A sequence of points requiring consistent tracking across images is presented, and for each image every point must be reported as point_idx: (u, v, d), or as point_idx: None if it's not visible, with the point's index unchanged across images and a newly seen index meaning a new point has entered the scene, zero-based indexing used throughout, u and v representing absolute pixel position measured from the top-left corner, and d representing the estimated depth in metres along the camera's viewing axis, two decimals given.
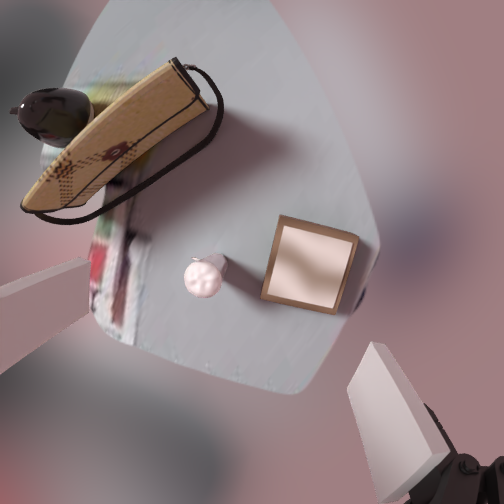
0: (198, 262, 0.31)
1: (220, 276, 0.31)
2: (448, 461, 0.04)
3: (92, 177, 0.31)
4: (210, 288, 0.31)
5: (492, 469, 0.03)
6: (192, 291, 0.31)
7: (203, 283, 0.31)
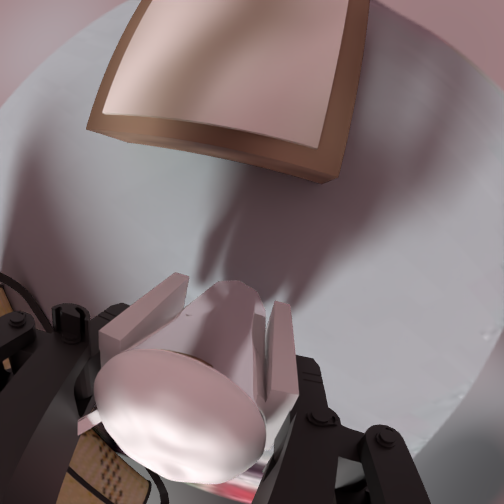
0: None
1: (139, 355, 0.05)
2: None
3: (73, 482, 0.12)
4: (181, 431, 0.04)
5: (364, 443, 0.05)
6: (218, 481, 0.05)
7: (162, 447, 0.04)
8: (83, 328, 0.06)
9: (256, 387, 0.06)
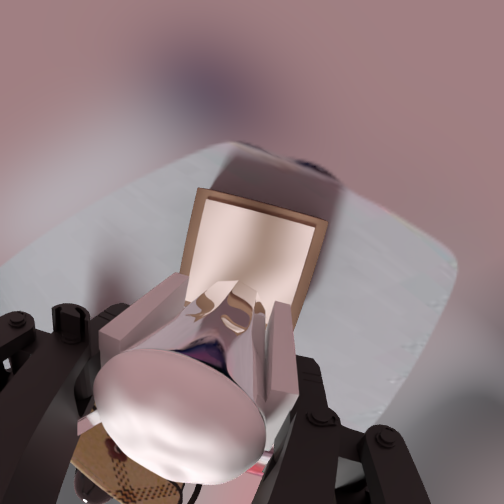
0: None
1: (139, 356, 0.05)
2: None
3: None
4: (180, 432, 0.04)
5: (364, 443, 0.05)
6: (218, 482, 0.05)
7: (162, 447, 0.04)
8: (83, 328, 0.06)
9: (256, 388, 0.06)
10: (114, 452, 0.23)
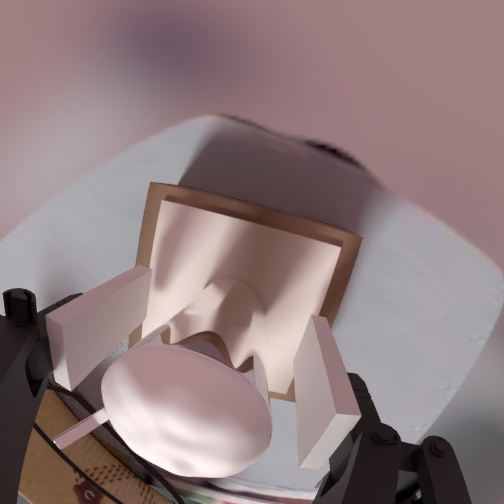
0: None
1: (149, 352, 0.05)
2: (360, 431, 0.06)
3: None
4: (193, 425, 0.04)
5: (420, 452, 0.04)
6: (226, 474, 0.05)
7: (173, 441, 0.05)
8: (31, 311, 0.06)
9: (261, 380, 0.06)
10: (85, 499, 0.15)
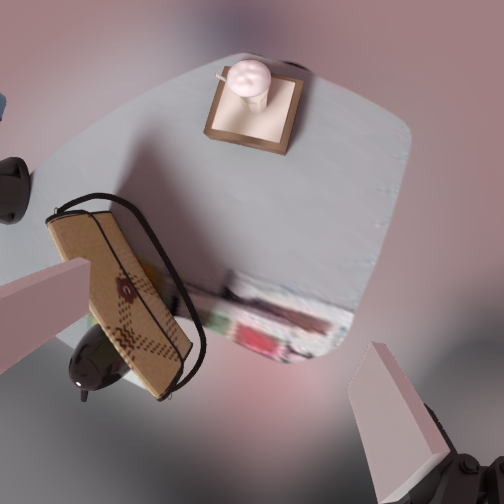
0: (227, 80, 0.24)
1: None
2: (448, 461, 0.04)
3: (151, 320, 0.35)
4: (255, 64, 0.22)
5: (492, 469, 0.03)
6: (260, 83, 0.23)
7: (249, 70, 0.23)
8: None
9: None
10: (122, 291, 0.33)
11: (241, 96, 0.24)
